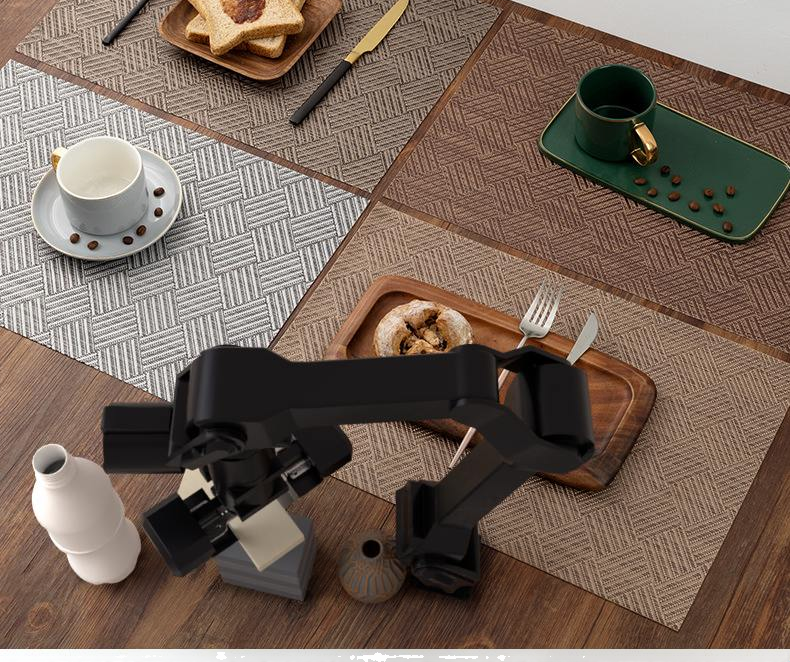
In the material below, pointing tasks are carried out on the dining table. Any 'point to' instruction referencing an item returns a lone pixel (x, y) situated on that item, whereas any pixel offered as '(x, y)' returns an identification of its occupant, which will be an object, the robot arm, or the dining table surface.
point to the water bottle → (84, 515)
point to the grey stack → (273, 566)
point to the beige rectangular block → (194, 484)
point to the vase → (371, 566)
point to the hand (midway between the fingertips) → (258, 520)
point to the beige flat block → (267, 534)
